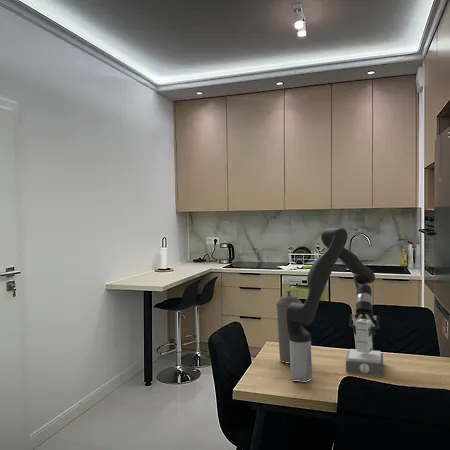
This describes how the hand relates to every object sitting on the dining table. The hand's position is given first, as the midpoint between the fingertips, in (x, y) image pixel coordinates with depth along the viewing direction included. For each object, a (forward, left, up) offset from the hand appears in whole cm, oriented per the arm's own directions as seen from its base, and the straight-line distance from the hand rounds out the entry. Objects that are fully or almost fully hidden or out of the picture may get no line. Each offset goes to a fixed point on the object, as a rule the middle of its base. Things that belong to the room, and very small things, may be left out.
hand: (364, 334), depth 194 cm
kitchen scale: (+1, 0, -16) cm, 16 cm away
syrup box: (+2, 0, -8) cm, 8 cm away
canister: (+2, +35, -16) cm, 39 cm away
